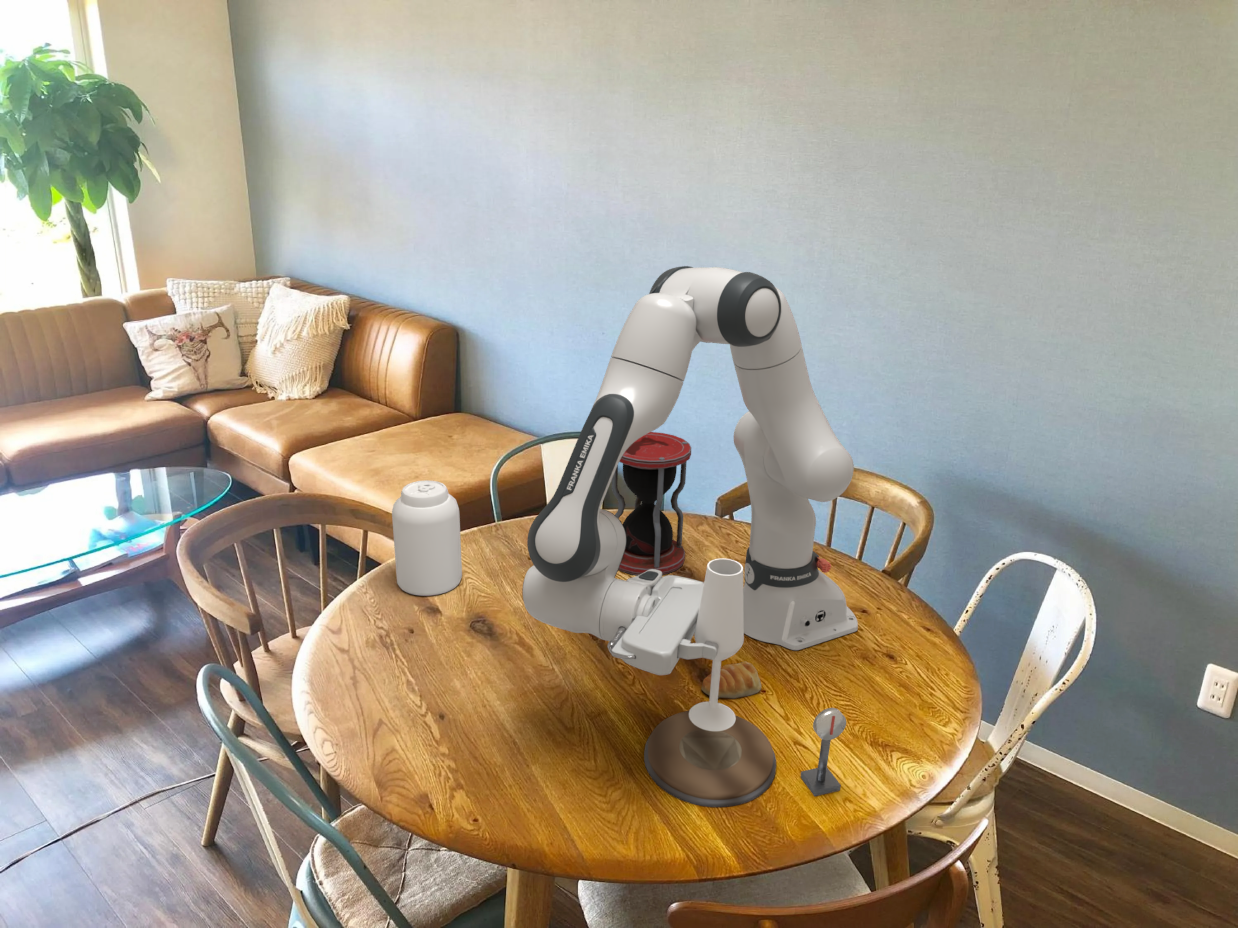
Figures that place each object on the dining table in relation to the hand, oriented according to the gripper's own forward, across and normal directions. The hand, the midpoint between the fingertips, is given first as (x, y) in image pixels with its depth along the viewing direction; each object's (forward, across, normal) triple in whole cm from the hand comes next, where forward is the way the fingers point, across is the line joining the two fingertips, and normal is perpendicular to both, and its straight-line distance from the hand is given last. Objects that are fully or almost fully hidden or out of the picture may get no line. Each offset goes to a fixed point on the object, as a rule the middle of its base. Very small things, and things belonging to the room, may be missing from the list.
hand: (725, 636), depth 125 cm
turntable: (-1, 0, +21) cm, 21 cm away
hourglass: (-31, +54, +21) cm, 66 cm away
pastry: (-2, +18, +22) cm, 28 cm away
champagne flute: (-1, 0, +14) cm, 14 cm away
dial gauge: (+15, +2, +21) cm, 26 cm away
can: (-66, +28, +22) cm, 75 cm away
